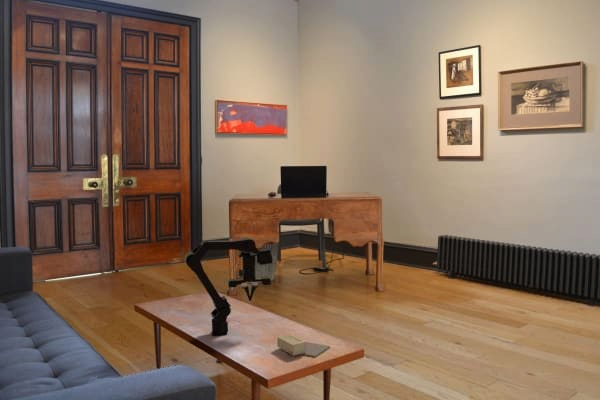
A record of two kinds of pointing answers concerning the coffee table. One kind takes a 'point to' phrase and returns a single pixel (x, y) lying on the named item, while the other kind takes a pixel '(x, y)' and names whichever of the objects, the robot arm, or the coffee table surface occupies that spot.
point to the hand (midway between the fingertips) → (250, 300)
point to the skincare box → (291, 344)
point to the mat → (314, 349)
